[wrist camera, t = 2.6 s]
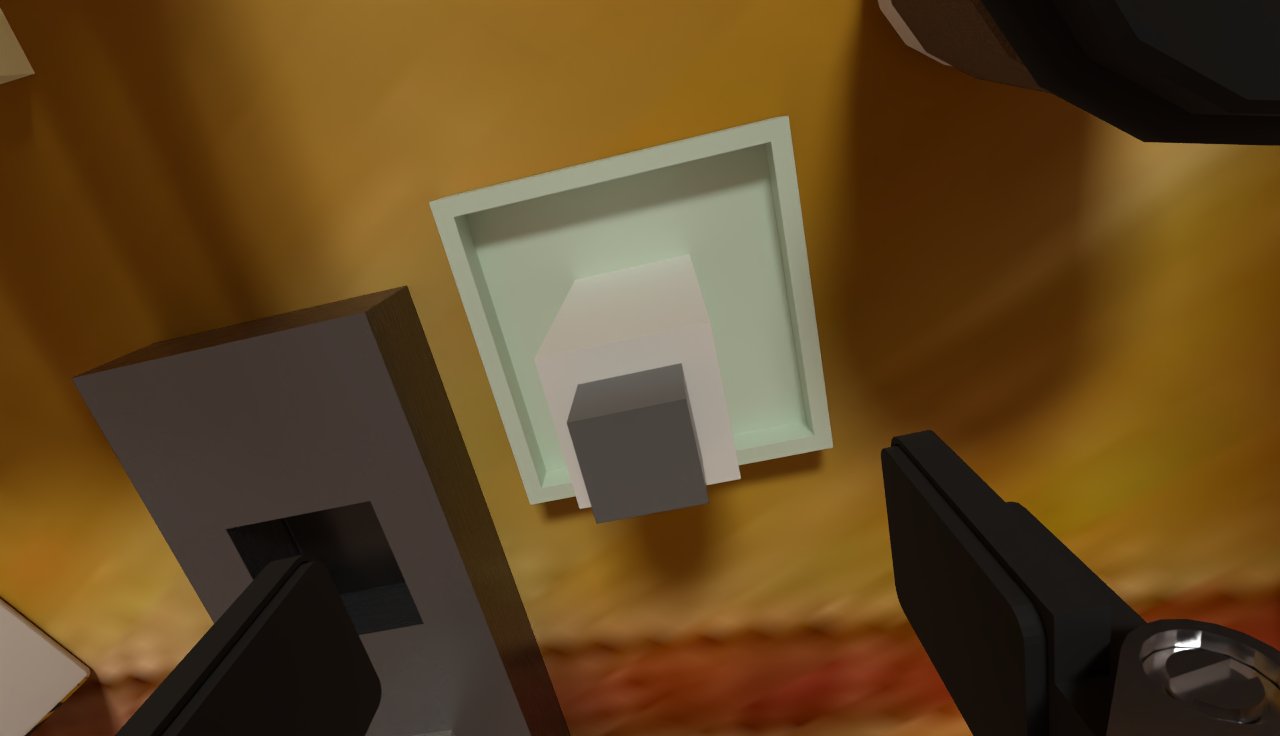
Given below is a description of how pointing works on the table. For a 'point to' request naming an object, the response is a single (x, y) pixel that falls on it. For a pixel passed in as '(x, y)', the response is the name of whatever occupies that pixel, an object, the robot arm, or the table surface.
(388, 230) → the table surface
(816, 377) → the tray
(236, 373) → the grey piece
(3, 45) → the slatted curved stool
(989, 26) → the coffee cup
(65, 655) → the medicine bottle
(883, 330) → the table surface
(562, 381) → the plug
